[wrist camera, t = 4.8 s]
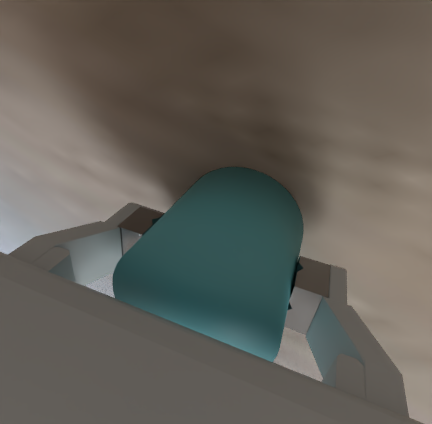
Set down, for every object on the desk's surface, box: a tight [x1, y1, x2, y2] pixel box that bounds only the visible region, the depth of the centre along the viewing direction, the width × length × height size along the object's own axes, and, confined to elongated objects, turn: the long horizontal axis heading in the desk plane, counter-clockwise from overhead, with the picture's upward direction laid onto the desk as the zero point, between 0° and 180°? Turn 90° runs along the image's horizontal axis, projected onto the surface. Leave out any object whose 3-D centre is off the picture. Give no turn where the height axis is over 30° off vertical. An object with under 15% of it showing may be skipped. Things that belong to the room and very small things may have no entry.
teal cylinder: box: [113, 167, 303, 362], centre depth 10 cm, size 5×5×5 cm
